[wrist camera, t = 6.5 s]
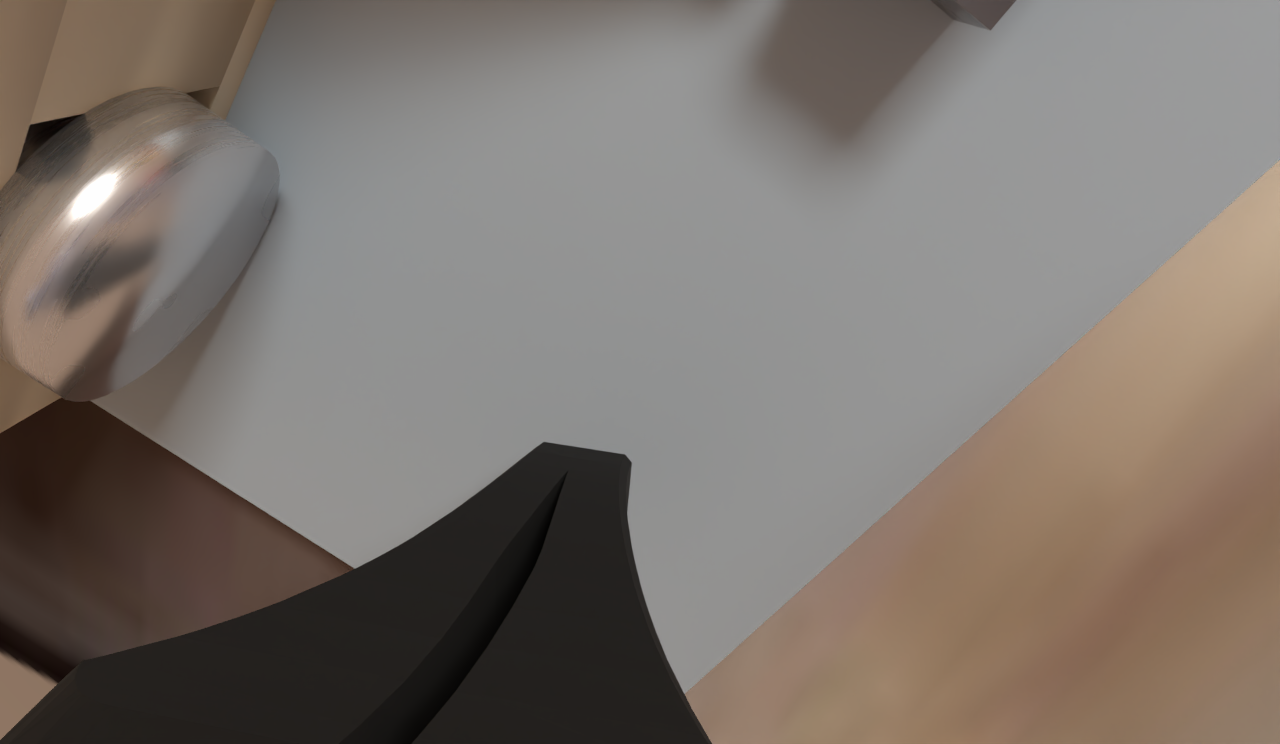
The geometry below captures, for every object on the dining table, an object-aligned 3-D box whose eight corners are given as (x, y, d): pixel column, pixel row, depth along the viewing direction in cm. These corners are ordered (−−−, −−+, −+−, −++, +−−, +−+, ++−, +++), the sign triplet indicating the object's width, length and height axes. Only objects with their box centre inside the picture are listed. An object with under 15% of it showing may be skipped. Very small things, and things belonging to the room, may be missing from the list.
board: (1471, -60, 10) (1527, -63, 9) (636, 710, 17) (629, 742, 16) (-271, -1725, 7) (-393, -1921, 6) (-363, 69, 14) (-425, 75, 13)
